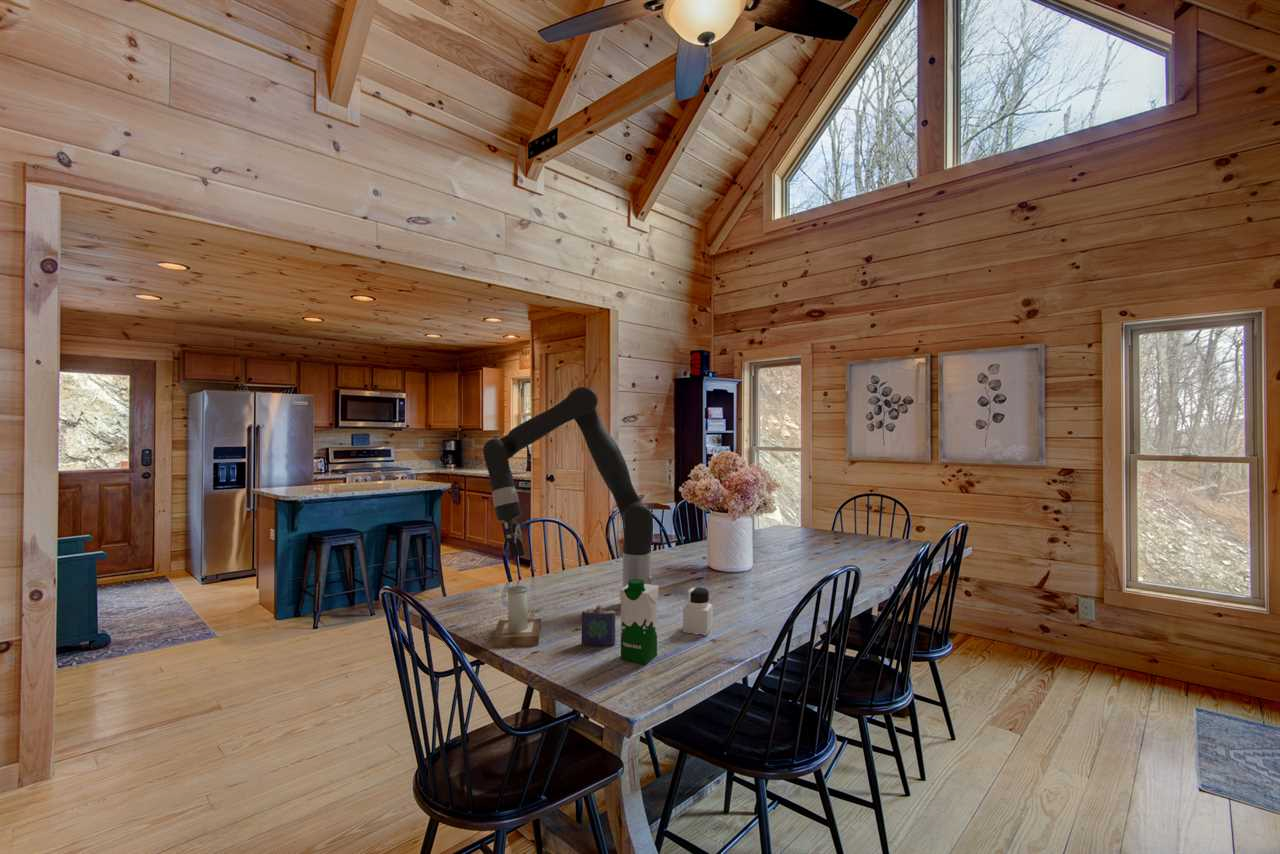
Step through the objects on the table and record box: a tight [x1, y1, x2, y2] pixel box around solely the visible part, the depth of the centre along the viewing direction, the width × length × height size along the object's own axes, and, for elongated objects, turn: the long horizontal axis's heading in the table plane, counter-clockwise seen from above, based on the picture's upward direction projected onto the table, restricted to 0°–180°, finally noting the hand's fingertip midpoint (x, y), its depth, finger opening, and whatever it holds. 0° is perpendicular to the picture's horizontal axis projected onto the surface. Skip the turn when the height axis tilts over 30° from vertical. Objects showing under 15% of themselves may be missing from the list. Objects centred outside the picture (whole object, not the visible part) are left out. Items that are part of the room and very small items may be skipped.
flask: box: [580, 604, 617, 647], centre depth 159 cm, size 9×3×11 cm, turn 88°
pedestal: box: [492, 618, 542, 647], centre depth 165 cm, size 12×14×3 cm
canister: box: [507, 585, 528, 632], centre depth 164 cm, size 5×5×11 cm
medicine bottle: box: [682, 586, 714, 636], centre depth 170 cm, size 7×7×12 cm
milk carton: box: [619, 579, 660, 666], centre depth 150 cm, size 9×9×20 cm
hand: (518, 556), depth 177 cm, fingers open, 8 cm apart
